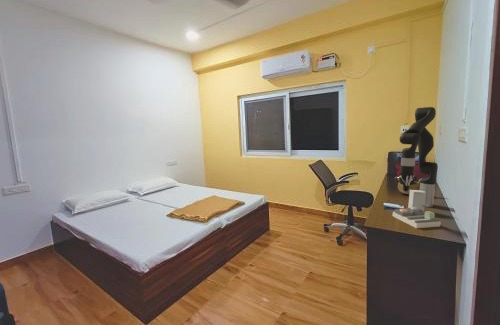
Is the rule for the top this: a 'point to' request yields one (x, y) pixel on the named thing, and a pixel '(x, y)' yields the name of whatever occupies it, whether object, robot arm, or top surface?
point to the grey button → (415, 209)
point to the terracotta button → (403, 210)
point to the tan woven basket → (411, 187)
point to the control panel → (416, 218)
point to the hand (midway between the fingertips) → (405, 191)
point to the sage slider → (429, 215)
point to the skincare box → (417, 199)
